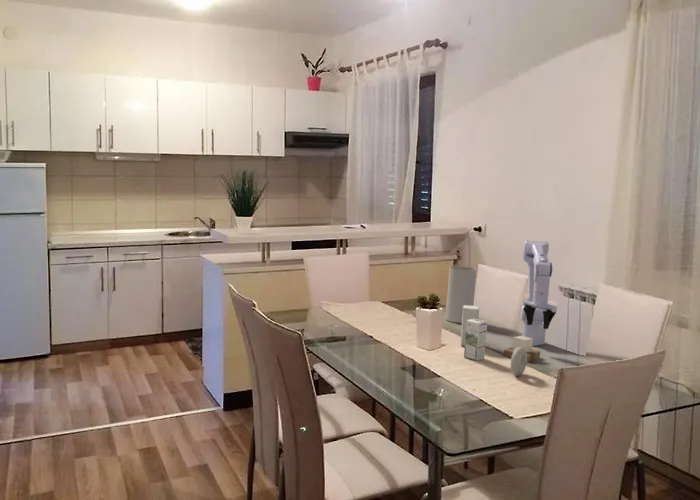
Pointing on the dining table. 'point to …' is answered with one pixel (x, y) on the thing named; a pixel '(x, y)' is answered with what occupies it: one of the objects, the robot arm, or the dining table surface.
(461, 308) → the cylinder vase
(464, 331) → the skincare box
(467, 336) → the syrup box
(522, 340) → the cube
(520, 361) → the donut
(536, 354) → the slab
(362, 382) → the dining table surface
